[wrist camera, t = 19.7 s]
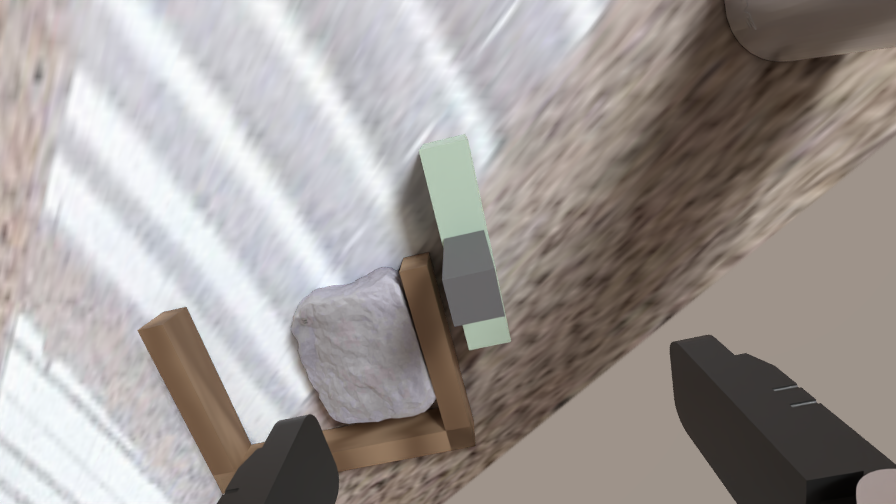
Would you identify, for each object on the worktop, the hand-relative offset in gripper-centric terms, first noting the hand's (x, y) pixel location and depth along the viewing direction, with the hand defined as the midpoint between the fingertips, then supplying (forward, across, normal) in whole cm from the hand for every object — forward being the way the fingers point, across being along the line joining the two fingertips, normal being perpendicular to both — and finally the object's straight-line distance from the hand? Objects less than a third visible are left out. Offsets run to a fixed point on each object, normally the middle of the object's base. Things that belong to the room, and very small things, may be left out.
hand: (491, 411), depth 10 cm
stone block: (+24, +11, +10) cm, 28 cm away
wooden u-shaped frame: (+23, +15, +10) cm, 29 cm away
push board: (+23, +1, +3) cm, 23 cm away
